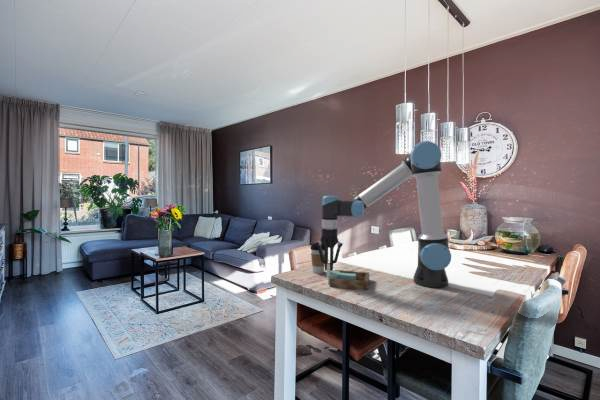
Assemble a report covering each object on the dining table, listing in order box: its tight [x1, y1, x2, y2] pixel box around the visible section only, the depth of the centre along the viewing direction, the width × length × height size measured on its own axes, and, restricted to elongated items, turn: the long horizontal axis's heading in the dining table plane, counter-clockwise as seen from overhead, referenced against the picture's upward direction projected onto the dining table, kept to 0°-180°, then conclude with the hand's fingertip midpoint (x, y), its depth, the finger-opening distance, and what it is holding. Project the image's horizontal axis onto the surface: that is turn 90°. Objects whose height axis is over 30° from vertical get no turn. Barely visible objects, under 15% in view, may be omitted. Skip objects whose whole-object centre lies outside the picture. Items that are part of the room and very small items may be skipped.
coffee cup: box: [310, 242, 325, 275], centre depth 161 cm, size 8×8×15 cm
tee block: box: [327, 269, 357, 285], centre depth 144 cm, size 12×10×4 cm
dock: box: [329, 269, 370, 291], centre depth 143 cm, size 17×16×4 cm
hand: (328, 277), depth 146 cm, fingers closed
